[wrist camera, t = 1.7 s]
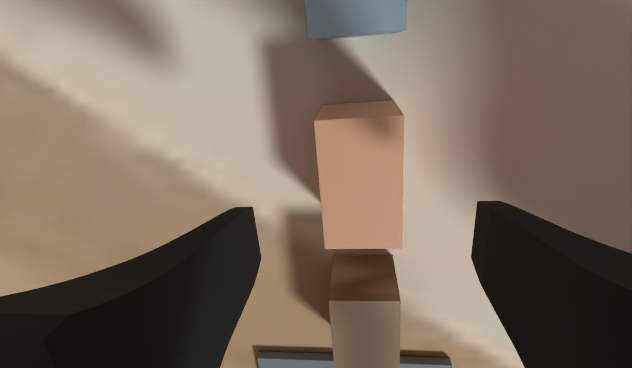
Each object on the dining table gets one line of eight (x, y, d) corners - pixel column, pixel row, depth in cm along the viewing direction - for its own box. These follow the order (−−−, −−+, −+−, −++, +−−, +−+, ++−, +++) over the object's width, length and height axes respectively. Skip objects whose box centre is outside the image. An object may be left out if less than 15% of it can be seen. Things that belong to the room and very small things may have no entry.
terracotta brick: (393, 99, 17) (404, 115, 13) (393, 208, 19) (402, 248, 15) (322, 104, 17) (313, 120, 13) (330, 210, 19) (324, 249, 16)
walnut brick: (392, 253, 20) (400, 301, 16) (392, 331, 22) (399, 387, 19) (333, 254, 20) (328, 300, 17) (338, 329, 23) (335, 385, 19)
